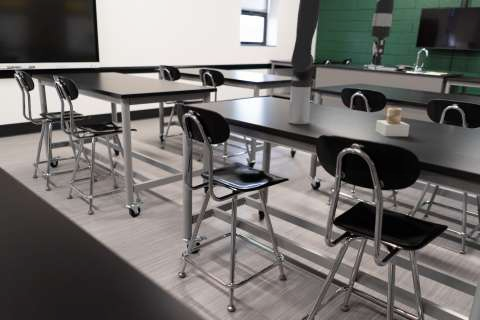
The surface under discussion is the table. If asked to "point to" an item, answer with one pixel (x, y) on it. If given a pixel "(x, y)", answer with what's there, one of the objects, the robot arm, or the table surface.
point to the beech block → (394, 115)
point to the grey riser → (392, 128)
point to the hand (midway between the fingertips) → (375, 65)
